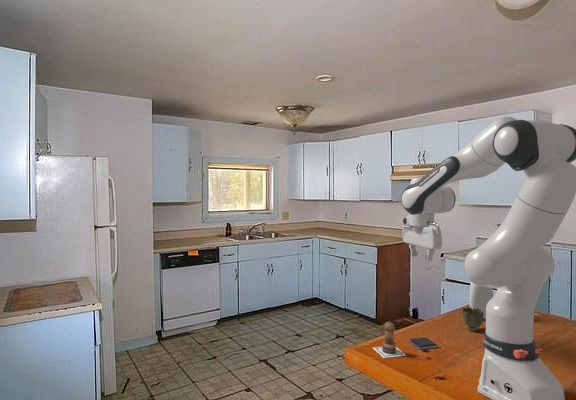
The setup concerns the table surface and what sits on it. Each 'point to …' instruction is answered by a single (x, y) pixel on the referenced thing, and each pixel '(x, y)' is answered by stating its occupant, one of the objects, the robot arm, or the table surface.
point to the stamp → (389, 339)
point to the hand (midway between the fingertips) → (421, 258)
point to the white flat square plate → (384, 355)
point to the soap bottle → (480, 297)
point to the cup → (473, 318)
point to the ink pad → (423, 343)
